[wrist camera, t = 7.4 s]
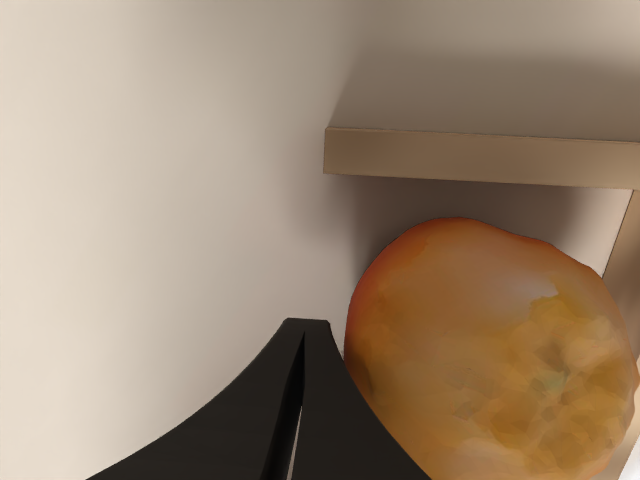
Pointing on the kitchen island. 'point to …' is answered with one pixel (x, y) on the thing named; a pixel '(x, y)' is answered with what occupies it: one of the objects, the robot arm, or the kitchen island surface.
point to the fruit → (491, 355)
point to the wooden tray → (523, 168)
